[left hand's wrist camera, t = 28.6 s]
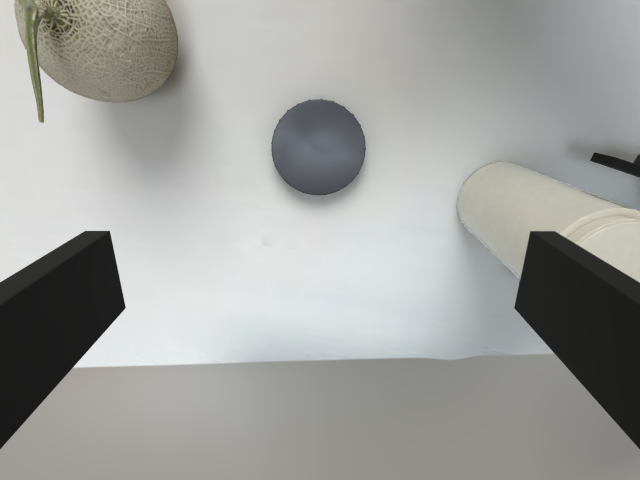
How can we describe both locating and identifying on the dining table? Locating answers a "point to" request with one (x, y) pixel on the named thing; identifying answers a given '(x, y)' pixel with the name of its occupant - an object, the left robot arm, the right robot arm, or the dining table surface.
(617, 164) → the right robot arm
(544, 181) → the jar
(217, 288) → the dining table surface
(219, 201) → the dining table surface
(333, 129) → the lid
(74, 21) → the fruit
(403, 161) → the dining table surface
